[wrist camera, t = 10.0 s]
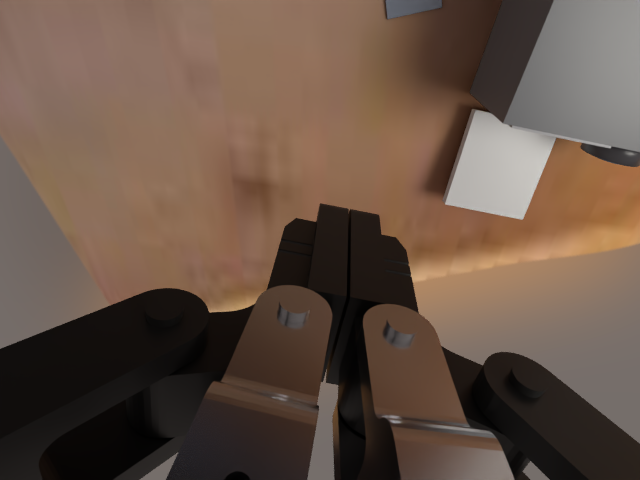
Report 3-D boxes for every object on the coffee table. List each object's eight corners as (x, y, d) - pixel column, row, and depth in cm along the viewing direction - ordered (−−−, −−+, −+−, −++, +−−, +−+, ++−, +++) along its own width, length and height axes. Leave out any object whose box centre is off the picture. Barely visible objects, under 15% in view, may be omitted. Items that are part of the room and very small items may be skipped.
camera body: (522, -55, 29) (590, -71, 21) (687, -18, 30) (819, -19, 21) (462, 112, 35) (496, 152, 27) (600, 141, 36) (676, 189, 27)
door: (475, 110, 34) (444, 204, 37) (560, 127, 34) (522, 219, 37) (470, 108, 35) (441, 199, 38) (552, 125, 35) (516, 214, 38)
